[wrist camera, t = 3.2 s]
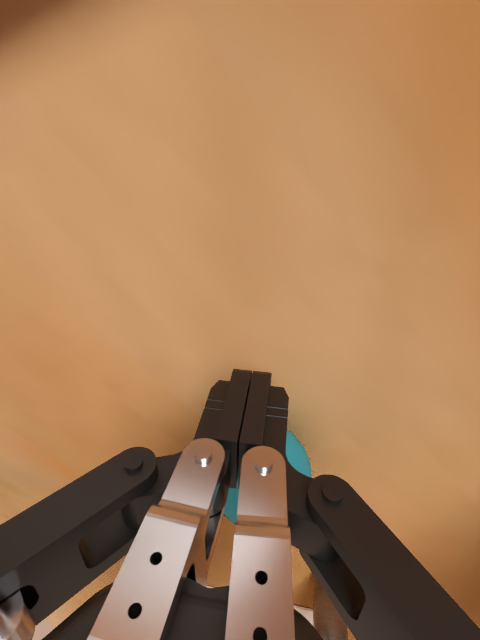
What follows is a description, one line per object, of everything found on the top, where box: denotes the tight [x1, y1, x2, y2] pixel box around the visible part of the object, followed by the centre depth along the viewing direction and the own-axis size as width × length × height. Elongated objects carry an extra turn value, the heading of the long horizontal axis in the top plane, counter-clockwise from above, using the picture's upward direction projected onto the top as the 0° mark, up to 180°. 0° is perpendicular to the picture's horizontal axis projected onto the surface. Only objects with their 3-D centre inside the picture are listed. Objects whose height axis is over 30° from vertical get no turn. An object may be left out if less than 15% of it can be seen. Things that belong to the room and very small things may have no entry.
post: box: [313, 574, 348, 640], centre depth 27 cm, size 3×3×9 cm
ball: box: [224, 430, 311, 524], centre depth 21 cm, size 6×6×6 cm
